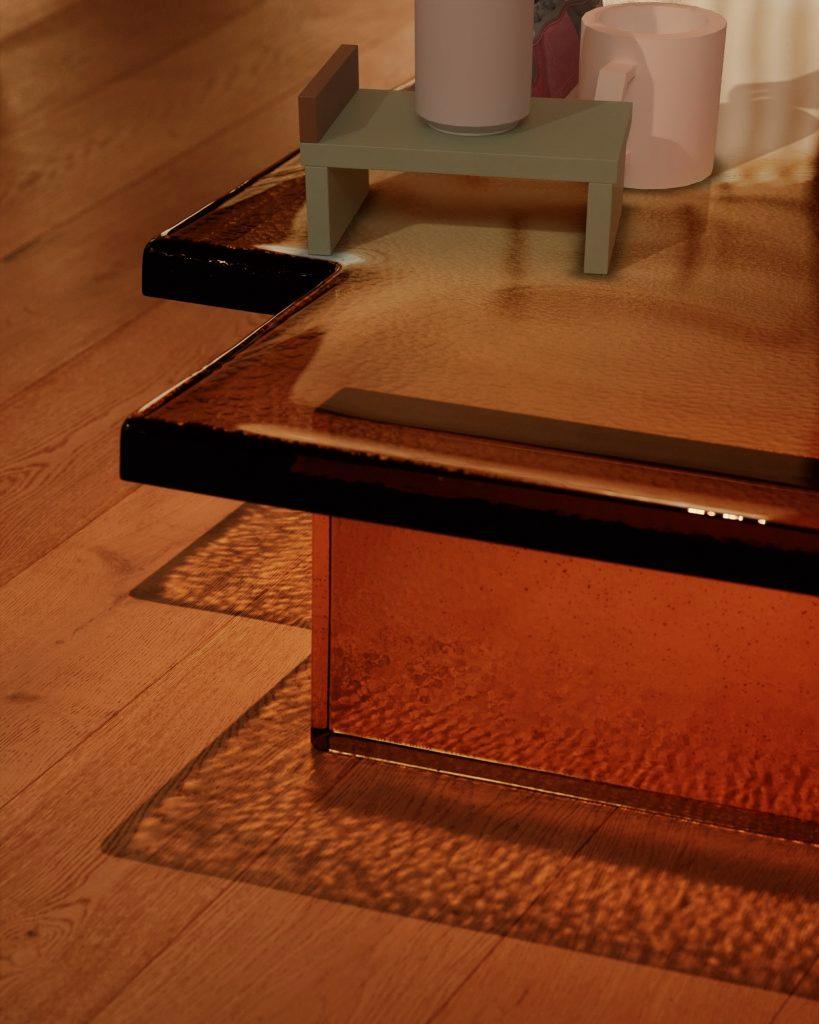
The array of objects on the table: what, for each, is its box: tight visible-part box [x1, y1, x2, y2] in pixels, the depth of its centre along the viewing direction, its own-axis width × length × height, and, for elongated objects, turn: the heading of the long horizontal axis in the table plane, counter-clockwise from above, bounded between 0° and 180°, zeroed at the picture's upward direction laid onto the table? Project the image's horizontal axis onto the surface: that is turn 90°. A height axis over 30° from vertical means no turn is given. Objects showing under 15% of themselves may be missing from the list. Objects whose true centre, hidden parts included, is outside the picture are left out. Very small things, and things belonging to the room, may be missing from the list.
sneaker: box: [406, 0, 604, 99], centre depth 126 cm, size 10×28×12 cm, turn 153°
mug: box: [578, 1, 728, 190], centre depth 115 cm, size 14×10×11 cm
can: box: [413, 0, 534, 136], centre depth 101 cm, size 8×8×12 cm
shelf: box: [297, 43, 633, 276], centre depth 105 cm, size 20×12×10 cm, turn 79°
